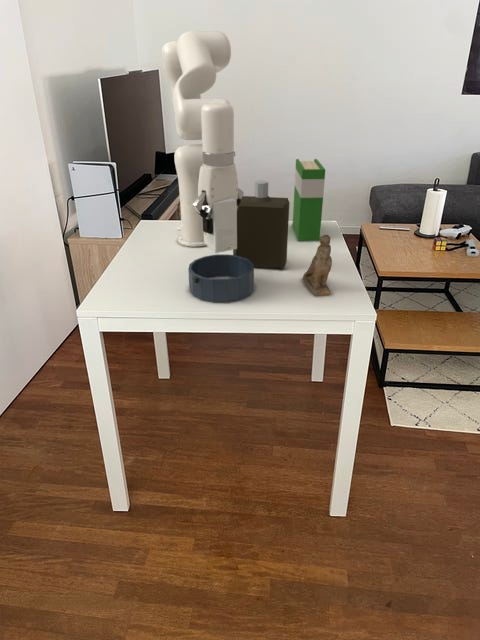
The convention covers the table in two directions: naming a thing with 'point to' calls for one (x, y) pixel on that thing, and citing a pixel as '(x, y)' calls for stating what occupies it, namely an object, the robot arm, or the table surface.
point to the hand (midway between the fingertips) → (219, 228)
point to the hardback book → (308, 199)
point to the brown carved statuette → (319, 269)
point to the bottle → (263, 228)
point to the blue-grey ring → (221, 288)
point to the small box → (223, 226)
